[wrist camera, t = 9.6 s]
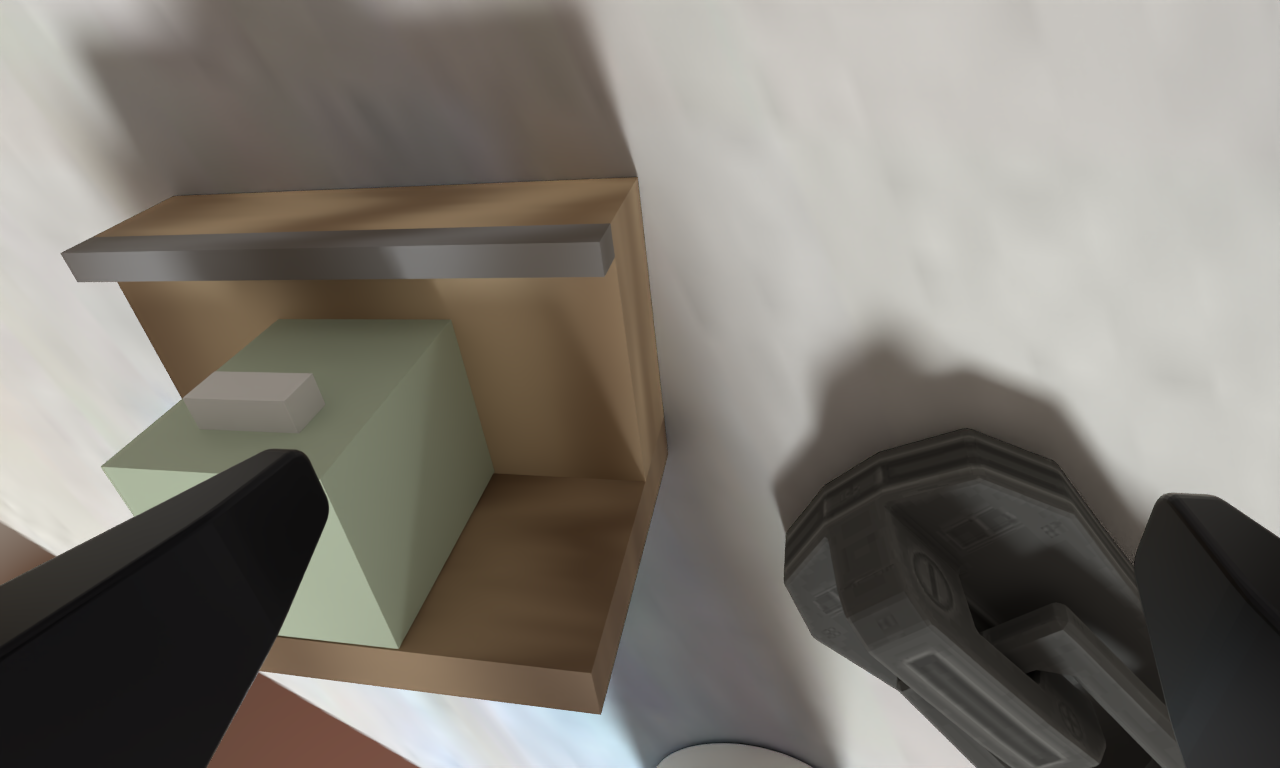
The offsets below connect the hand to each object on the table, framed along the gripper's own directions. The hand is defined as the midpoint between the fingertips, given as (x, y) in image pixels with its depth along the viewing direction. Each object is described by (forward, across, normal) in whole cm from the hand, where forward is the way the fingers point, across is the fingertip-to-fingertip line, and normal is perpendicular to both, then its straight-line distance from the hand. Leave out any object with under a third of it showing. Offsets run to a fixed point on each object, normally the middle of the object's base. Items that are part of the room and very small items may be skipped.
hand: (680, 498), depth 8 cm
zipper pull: (+12, -11, +19) cm, 25 cm away
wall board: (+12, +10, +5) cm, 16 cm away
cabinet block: (+9, +10, +5) cm, 14 cm away
